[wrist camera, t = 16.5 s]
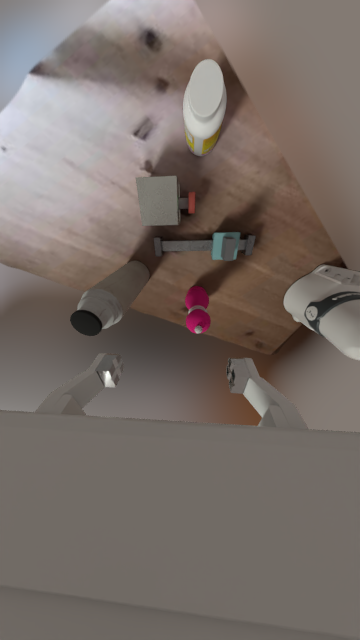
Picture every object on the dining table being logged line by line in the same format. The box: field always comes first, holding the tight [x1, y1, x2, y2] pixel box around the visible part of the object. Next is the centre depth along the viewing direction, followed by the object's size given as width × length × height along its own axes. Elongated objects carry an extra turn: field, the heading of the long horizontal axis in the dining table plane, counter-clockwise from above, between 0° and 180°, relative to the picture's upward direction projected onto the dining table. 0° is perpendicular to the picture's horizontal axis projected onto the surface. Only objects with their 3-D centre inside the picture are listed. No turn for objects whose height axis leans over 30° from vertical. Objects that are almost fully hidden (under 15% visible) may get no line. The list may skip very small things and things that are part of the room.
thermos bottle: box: [70, 261, 149, 336], centre depth 36 cm, size 8×8×28 cm
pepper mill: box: [185, 286, 210, 333], centre depth 42 cm, size 7×7×20 cm
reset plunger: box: [178, 192, 195, 213], centre depth 35 cm, size 11×4×4 cm, turn 91°
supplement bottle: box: [183, 59, 227, 156], centre depth 26 cm, size 7×7×13 cm
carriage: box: [211, 232, 240, 261], centre depth 38 cm, size 6×6×9 cm
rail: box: [154, 234, 256, 256], centre depth 41 cm, size 25×4×4 cm, turn 92°
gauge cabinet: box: [136, 176, 180, 226], centre depth 35 cm, size 8×8×8 cm
